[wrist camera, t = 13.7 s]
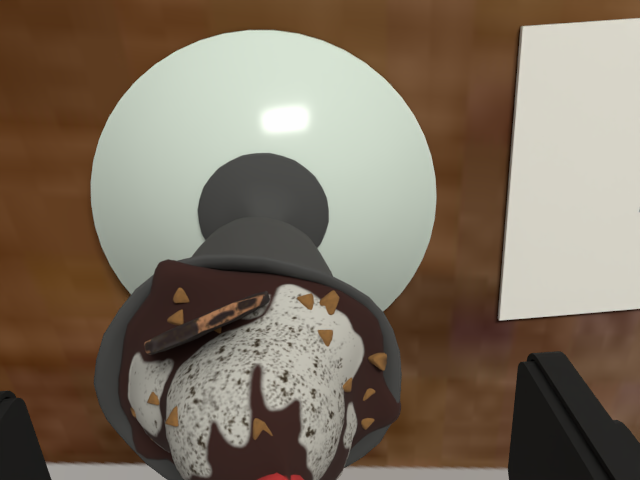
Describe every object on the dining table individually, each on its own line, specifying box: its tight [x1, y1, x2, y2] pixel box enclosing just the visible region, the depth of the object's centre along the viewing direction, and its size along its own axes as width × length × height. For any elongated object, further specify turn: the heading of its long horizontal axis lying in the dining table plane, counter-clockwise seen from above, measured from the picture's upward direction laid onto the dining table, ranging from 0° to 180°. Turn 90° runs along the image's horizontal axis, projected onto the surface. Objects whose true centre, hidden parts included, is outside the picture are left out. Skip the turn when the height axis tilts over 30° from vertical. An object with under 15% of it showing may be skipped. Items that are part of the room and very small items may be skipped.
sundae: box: [94, 153, 401, 480], centre depth 15 cm, size 7×7×15 cm
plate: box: [91, 30, 436, 311], centre depth 22 cm, size 13×13×1 cm
